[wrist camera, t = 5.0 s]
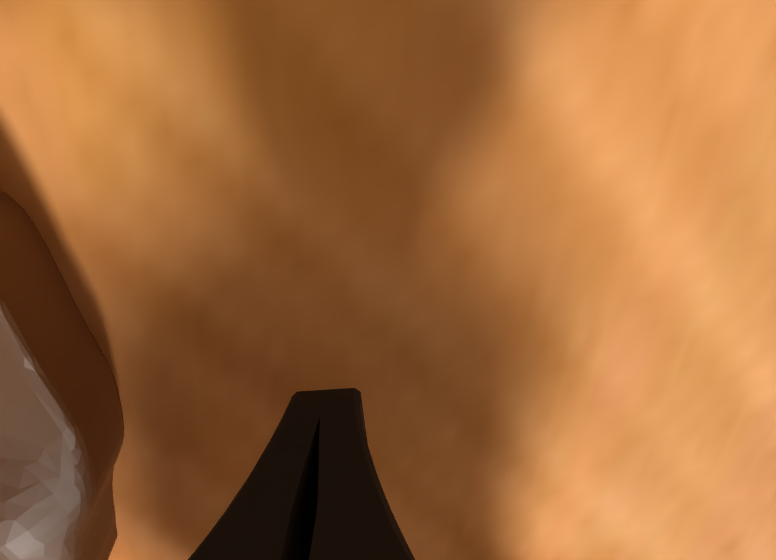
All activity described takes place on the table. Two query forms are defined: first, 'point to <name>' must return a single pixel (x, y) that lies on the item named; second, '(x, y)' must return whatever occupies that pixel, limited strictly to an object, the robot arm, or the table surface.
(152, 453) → the table surface
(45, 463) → the plant
